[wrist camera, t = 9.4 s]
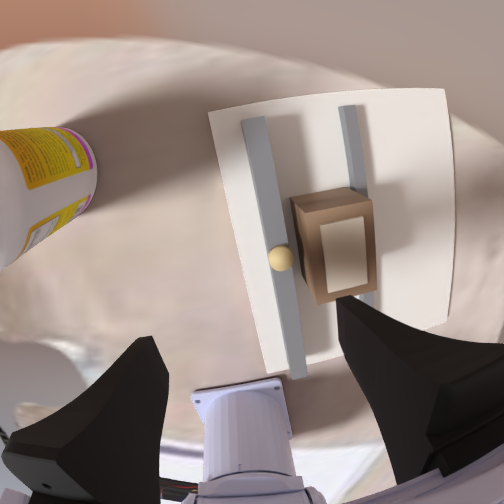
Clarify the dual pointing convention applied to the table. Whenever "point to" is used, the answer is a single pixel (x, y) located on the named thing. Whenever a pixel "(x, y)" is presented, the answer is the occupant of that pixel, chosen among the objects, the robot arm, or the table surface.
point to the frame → (335, 243)
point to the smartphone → (176, 489)
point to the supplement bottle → (41, 185)
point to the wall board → (331, 177)
